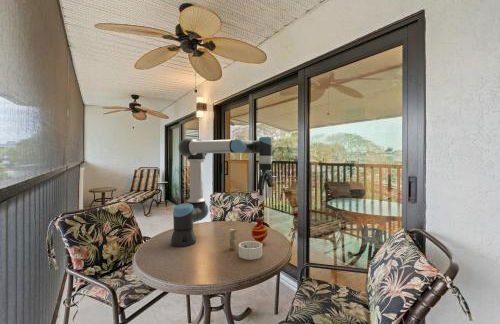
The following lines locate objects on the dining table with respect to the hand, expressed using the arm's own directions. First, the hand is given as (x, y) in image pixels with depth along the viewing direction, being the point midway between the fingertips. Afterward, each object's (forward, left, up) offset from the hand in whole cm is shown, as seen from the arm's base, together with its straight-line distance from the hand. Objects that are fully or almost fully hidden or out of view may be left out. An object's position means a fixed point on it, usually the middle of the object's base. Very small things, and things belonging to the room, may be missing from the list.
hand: (265, 199), depth 150 cm
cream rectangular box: (-16, -10, -28) cm, 34 cm away
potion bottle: (-6, +6, -28) cm, 29 cm away
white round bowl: (-3, -15, -28) cm, 32 cm away
